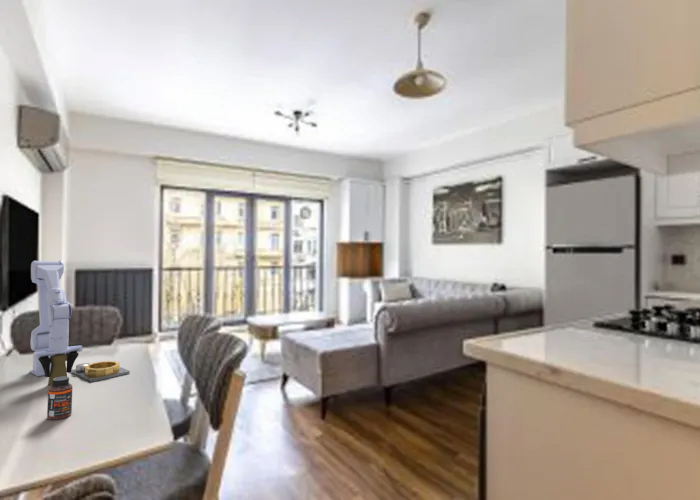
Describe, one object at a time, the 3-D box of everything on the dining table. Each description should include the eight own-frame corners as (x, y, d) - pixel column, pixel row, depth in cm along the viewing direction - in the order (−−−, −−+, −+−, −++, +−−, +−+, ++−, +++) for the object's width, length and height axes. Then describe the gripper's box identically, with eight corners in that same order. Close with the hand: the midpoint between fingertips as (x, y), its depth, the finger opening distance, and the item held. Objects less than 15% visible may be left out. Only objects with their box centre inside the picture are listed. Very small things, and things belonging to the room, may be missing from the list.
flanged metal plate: (71, 372, 160) (71, 363, 160) (108, 364, 171) (109, 356, 171) (90, 382, 149) (90, 373, 149) (129, 373, 161) (129, 364, 161)
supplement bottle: (52, 422, 116) (53, 383, 116) (43, 417, 119) (44, 378, 119) (75, 415, 121) (76, 377, 121) (66, 410, 124) (67, 373, 124)
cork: (57, 387, 144) (58, 356, 143) (43, 385, 145) (43, 355, 145) (72, 382, 149) (72, 352, 149) (58, 380, 151) (59, 351, 151)
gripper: (38, 342, 139) (37, 381, 139) (86, 335, 150) (85, 372, 151) (31, 339, 143) (30, 377, 143) (78, 332, 155) (77, 368, 155)
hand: (58, 374), depth 147 cm, fingers open, 6 cm apart
